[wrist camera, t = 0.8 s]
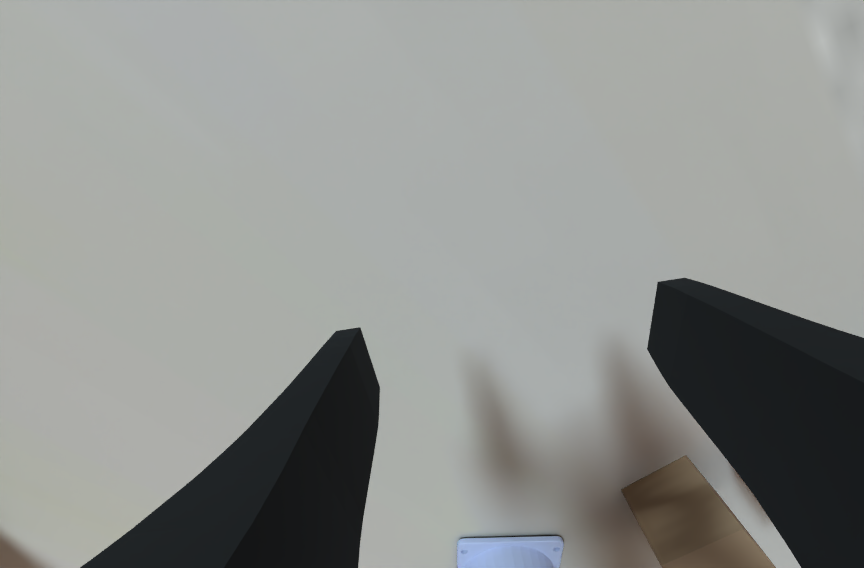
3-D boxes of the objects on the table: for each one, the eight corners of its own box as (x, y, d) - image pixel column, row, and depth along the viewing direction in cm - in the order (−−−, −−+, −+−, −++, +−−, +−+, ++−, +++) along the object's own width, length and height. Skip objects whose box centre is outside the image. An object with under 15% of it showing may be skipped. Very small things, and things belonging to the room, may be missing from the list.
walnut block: (653, 522, 28) (698, 601, 23) (620, 488, 26) (661, 565, 22) (716, 491, 26) (777, 569, 22) (685, 454, 25) (743, 528, 20)
